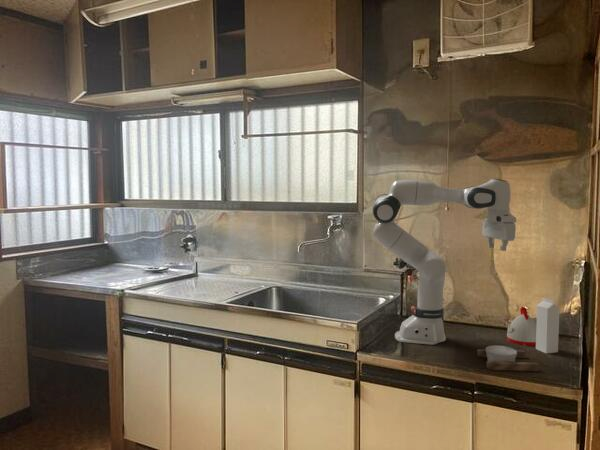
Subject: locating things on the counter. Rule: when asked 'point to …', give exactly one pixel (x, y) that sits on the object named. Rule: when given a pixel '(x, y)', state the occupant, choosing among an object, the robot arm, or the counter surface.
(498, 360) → the ramekin
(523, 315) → the kitchen timer
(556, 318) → the milk
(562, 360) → the counter surface
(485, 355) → the parallel wooden rails
